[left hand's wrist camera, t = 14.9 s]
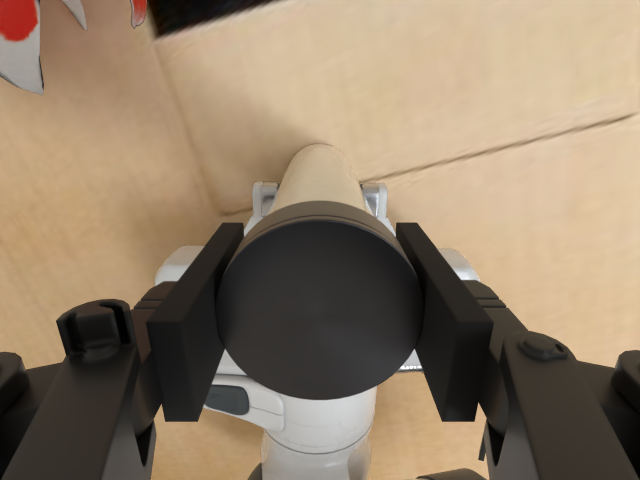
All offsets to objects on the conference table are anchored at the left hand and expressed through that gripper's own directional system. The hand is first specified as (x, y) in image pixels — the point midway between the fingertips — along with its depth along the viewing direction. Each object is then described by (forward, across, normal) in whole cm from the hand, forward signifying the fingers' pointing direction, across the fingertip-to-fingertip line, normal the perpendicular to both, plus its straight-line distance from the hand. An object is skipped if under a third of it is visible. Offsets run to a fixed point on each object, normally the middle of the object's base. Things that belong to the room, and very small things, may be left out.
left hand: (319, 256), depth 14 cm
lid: (-4, 0, 0) cm, 4 cm away
